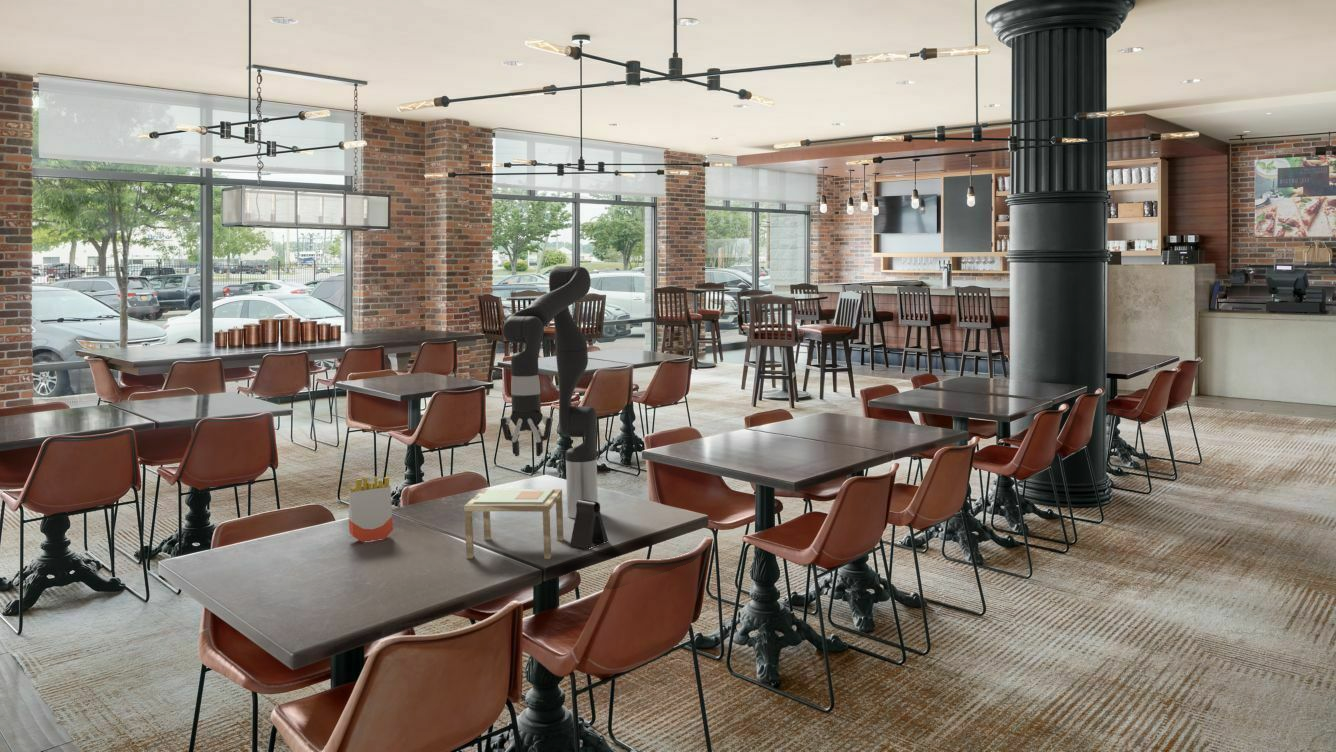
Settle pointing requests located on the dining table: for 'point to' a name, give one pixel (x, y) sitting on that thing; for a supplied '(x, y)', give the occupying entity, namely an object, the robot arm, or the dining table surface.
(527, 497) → the pale green book
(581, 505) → the black a-frame stand
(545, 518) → the miniature wooden table
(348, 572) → the dining table surface
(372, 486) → the french fries container
